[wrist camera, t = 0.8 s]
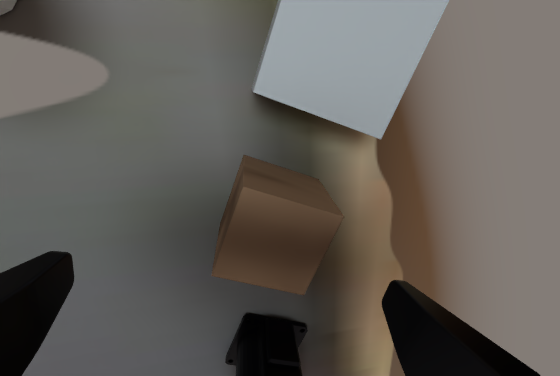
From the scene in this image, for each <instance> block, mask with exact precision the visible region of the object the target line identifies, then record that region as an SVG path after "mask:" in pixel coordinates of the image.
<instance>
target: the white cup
mask: <svg viewBox="0 0 560 376" xmlns="http://www.w3.org/2000/svg"><path fill="white" fill-rule="evenodd" d="M16 2H17V0H0V16H1V15H3V14H5V13H7V12H9V11H11V10H12V9H13V7H14V5H15V4H16Z"/></svg>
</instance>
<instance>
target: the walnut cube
mask: <svg viewBox="0 0 560 376" xmlns="http://www.w3.org/2000/svg"><path fill="white" fill-rule="evenodd" d="M343 219H344V216H343V214H342V213H341V211H340V210H339V208H338V207H337V205H336V204H335V203H334V201H333V200H332V198H331V197H330V195H329V194H328V192H327V191H326V190H325V188H324V187H323V185H322V184H321V182H320V181H319V179H316V178H313V177H310V176H307V175H304V174H301V173H298V172H295V171H292V170H289V169H286V168H283V167H280V166H277V165H274V164H271V163H267V162H264V161H261V160H258V159H255V158H252V157H249V156H246V155H244V156H243V158H242V161H241V164H240V167H239V170H238V173H237V176H236V179H235V182H234V185H233V188H232V191H231V194H230V197H229V200H228V202H227V205H226V208H225V211H224V214H223V217H222V220H221V223H220V228H219V234H218V240H217V246H216V252H215V258H214V264H213V270H212V276H214V277H219V278H224V279H229V280H233V281H238V282H243V283H248V284H252V285H257V286H262V287H267V288H272V289H276V290H281V291H286V292H291V293H295V294H300V295H304V294H305V292H306V290H307V288H308V286H309V284H310V282H311V280H312V278H313V276H314V275H315V273H316V271H317V269H318V267H319V265H320V263H321V261H322V259H323V257H324V255H325V253H326V251H327V249H328V248H329V246H330V244H331V242H332V240H333V238H334V236H335V234H336V232H337V230H338V228H339V226H340V224H341V222H342V220H343Z"/></svg>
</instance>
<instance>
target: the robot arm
mask: <svg viewBox="0 0 560 376" xmlns="http://www.w3.org/2000/svg"><path fill="white" fill-rule="evenodd" d="M73 283H74V270H73V261H72V256H71V254H70V253H68V252H59V251H50V252H47V253H45V254H42V255H40V256H38V257H36V258H33V259H31V260H29V261H27V262H24V263H22V264H20V265H18V266H15V267H13V268H11V269H9V270H7V271H4V272H2V273H0V376H22V374H23V373H24V371H25V370H26V368H27V367H28V365H29V364H30V362H31V361H32V359H33V358H34V356H35V354H36V353H37V351H38V350H39V348H40V346H41V344H42V343H43V341H44V339H45V337H46V335H47V333H48V332H49V330H50V328H51V326H52V324H53V322H54V320H55V318H56V316H57V315H58V313H59V311H60V309H61V307H62V305H63V303H64V301H65V299H66V298H67V296H68V294H69V292H70V290H71V288H72V286H73ZM382 308H383V311H384V314H385V318H386V321H387V324H388V327H389V330H390V334H391V337H392V340H393V343H394V347H395V349H396V352H397V355H398V358H399V361H400V363H401V366H402V368H403V371H404V373H405V376H540V375H539V374H538V373H537V372H535V371H534V370H533V369H531V368H530V367H528V366H527V365H526V364H524V363H523V362H521V361H520V360H518V359H517V358H515V357H514V356H513V355H511V354H510V353H508V352H507V351H505V350H504V349H502V348H501V347H500V346H498V345H497V344H495V343H494V342H492V341H491V340H490V339H488V338H487V337H485V336H484V335H482V334H481V333H479V332H478V331H477V330H475V329H474V328H472V327H471V326H469V325H468V324H467V323H465V322H463V321H462V320H461V319H459V318H458V317H456V316H455V315H454V314H452V313H451V312H449V311H448V310H446V309H445V308H444V307H442V306H441V305H439V304H438V303H436V302H435V301H433V300H432V299H430V298H429V297H427V296H426V295H425V294H423V293H422V292H420V291H419V290H418V289H416V288H415V287H413V286H412V285H410V284H409V283H408V282H405V281H400V280H393V281H391V282H390V284H389V286H388V288H387V290H386V292H385V294H384V296H383V299H382ZM248 319H249V320H248ZM306 333H307V326H306V324H303V323H298V322H292V321H286V320H281V319H275V318H270V317H264V316H259V315H253V314H246V315H244V316H243V318H242V321H241V323H240V325H239V328H238V330H237V332H236V334H235V337H234V339H233V341H232V344H231V346H230V348H229V351H228V353H227V355H226V361H225V362H226V363H227V364H229V365H236V376H302V372H301V366H300V364H301V363H300V358H299V353H298V347H299V345H300V343H301V342H302V340H303V338H304V336H305V334H306Z"/></svg>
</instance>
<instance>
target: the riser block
mask: <svg viewBox="0 0 560 376" xmlns="http://www.w3.org/2000/svg"><path fill="white" fill-rule="evenodd" d="M448 2H449V0H278V3H277V6H276V9H275V12H274V16H273V19H272V22H271V26H270V29H269V32H268V36H267V39H266V42H265V46H264V49H263V52H262V56H261V59H260V62H259V66H258V69H257V72H256V75H255V79H254V82H253V85H252V91H253V92H254V93H257V94H259V95H262V96H265V97H268V98H270V99H273V100H276V101H278V102H281V103H284V104H287V105H289V106H292V107H295V108H297V109H300V110H303V111H306V112H308V113H311V114H314V115H316V116H319V117H322V118H325V119H327V120H330V121H333V122H335V123H338V124H341V125H343V126H346V127H349V128H352V129H354V130H357V131H360V132H362V133H365V134H368V135H371V136H373V137H376V138H379V139H381V138H382V136H383V134H384V132H385V130H386V128H387V126H388V124H389V122H390V120H391V118H392V116H393V114H394V112H395V110H396V108H397V106H398V103H399V101H400V99H401V97H402V95H403V93H404V91H405V89H406V87H407V85H408V83H409V81H410V79H411V77H412V75H413V73H414V71H415V69H416V67H417V65H418V63H419V61H420V59H421V57H422V55H423V53H424V50H425V48H426V47H427V44H428V42H429V40H430V38H431V36H432V34H433V32H434V30H435V28H436V26H437V24H438V22H439V20H440V18H441V16H442V14H443V12H444V10H445V8H446V6H447V4H448Z"/></svg>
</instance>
